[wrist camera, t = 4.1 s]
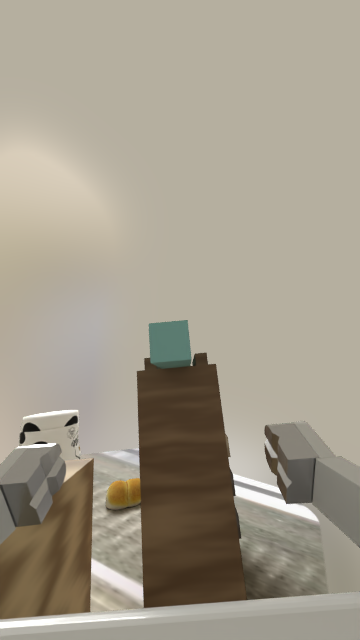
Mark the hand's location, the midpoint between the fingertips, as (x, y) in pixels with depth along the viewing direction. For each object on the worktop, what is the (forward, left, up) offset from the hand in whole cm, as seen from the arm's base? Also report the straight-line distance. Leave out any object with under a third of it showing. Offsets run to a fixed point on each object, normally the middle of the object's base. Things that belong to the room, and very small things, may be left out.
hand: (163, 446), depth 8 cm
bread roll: (+22, +44, -22) cm, 54 cm away
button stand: (+18, +18, -22) cm, 33 cm away
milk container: (+13, +74, -22) cm, 78 cm away
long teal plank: (+15, +15, +4) cm, 22 cm away
